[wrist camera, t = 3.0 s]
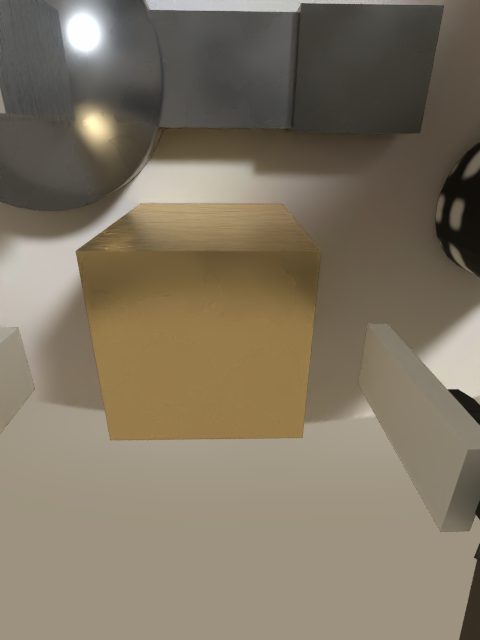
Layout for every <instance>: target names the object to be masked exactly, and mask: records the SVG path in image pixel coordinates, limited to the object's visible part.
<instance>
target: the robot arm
mask: <svg viewBox="0 0 480 640" xmlns="http://www.w3.org/2000/svg"><path fill="white" fill-rule="evenodd" d="M358 385H359V387H360V388H361V390H362V392H363V394H364V396H365V397H366V399H367V401H368V403H369V405H370V406H371V408H372V410H373V412H374V414H375V415H376V417H377V419H378V421H379V423H380V424H381V426H382V428H383V430H384V432H385V433H386V435H387V437H388V439H389V441H390V442H391V444H392V446H393V448H394V450H395V451H396V453H397V455H398V457H399V459H400V460H401V462H402V464H403V466H404V468H405V469H406V471H407V473H408V475H409V477H410V478H411V480H412V482H413V484H414V486H415V487H416V489H417V491H418V493H419V495H420V496H421V498H422V500H423V502H424V504H425V505H426V507H427V509H428V511H429V513H430V514H431V516H432V518H433V520H434V522H435V523H436V525H437V527H438V528H439V531H440V532H459V531H470V529H471V526H472V523H473V521H474V518H475V515H477V516H478V518H479V519H480V405H479V404H478V403H477V402H476V401H475V400H474V399H473V398H471V397H470V396H468V395H466V394H465V393H463V392H462V391H460V390H458V389H448V390H447V389H446V388H445V386H444V385H443V384H442V383H441V382H440V381H439V380H438V379H437V378H436V377H435V375H434V374H433V373H432V372H431V371H430V370H429V369H428V368H427V367H426V365H425V364H424V363H423V362H422V361H421V360H420V359H419V358H418V357H417V356H416V354H415V353H414V352H413V351H412V350H411V349H410V348H409V347H408V346H407V345H406V343H405V342H404V341H403V340H402V339H401V338H400V337H399V336H398V335H397V333H396V332H395V331H394V330H393V329H392V328H391V327H390V326H389V325H388V324H387V323H380V324H368V325H367V331H366V337H365V343H364V350H363V356H362V362H361V368H360V374H359V381H358ZM34 390H35V388H34V384H33V380H32V377H31V373H30V369H29V365H28V361H27V358H26V354H25V350H24V346H23V343H22V339H21V335H20V331H19V327H8V328H0V434H1V432H2V431H3V430H4V428H5V427H6V426H7V425H8V423H9V422H10V420H11V419H12V418H13V417H14V415H15V414H16V413H17V412H18V410H19V409H20V407H21V406H22V405H23V404H24V403H25V401H26V400H27V399H28V397H29V396H30V395H31V393H32V392H33V391H34ZM474 558H476V559H477V563H476V567H475V571H474V576H473V581H472V585H471V590H470V594H469V599H468V603H467V607H466V612H465V616H464V621H463V626H462V630H461V634H460V639H459V640H480V544H479V546H478V549H477V552H476V554H475V556H474Z"/></svg>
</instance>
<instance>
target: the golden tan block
mask: <svg viewBox="0 0 480 640" xmlns="http://www.w3.org/2000/svg"><path fill="white" fill-rule="evenodd" d="M76 255H77V261H78V266H79V271H80V277H81V282H82V288H83V293H84V299H85V304H86V310H87V315H88V321H89V326H90V332H91V337H92V343H93V348H94V354H95V359H96V364H97V370H98V375H99V381H100V386H101V392H102V397H103V403H104V408H105V414H106V419H107V425H108V430H109V436H110V440H167V439H168V440H169V439H245V438H248V439H249V438H302V437H303V427H304V417H305V407H306V397H307V387H308V377H309V367H310V357H311V347H312V336H313V326H314V316H315V306H316V296H317V286H318V276H319V266H320V256H321V250H320V249H319V248H318V247H317V245H316V244H315V243H314V242H313V240H312V239H311V238H310V237H309V236H308V234H307V233H306V232H305V231H304V229H303V228H302V227H301V226H300V224H299V223H298V222H297V221H296V219H295V218H294V217H293V216H292V215H291V213H290V212H289V211H288V210H287V208H286V207H285V206H284V205H283V204H139V205H138V206H137V207H135V208H134V209H133V210H131V211H130V212H128V213H127V214H126V215H124V216H123V217H122V218H120V219H119V220H118V221H116V222H115V223H113V224H112V225H111V226H109V227H108V228H107V229H105V230H104V231H103V232H101V233H100V234H98V235H97V236H96V237H94V238H93V239H92V240H90V241H89V242H88V243H86V244H85V245H83V246H82V247H81V248H79V249H78V250H77V251H76Z"/></svg>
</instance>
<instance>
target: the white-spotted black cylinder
mask: <svg viewBox="0 0 480 640" xmlns="http://www.w3.org/2000/svg"><path fill="white" fill-rule="evenodd" d="M435 223H436V231H437V237H438V239H439V242H440V245H441V247H442V249H443V250H444V252H445V253H446V255H447V256H448V257H449V258H450V259H451V260H452V261H453V262H454V263H455V264H457V265H458V266H460V267H462V268H464V269H465V270H467V271H469V272H471V273H473V274H474V275H476V276H478V277H480V142H479V143H478V144H477V145H476V146H474V147H473V148H472V149H471V150H469V151H468V152H467V153H466V155H465V156H464V157H463V158H462V159H461V160H460V161H459V162H458V163H457V164H456V166H455V168H454V169H453V171H452V172H451V174H450V175H449V177H448V178H447V180H446V182H445V184H444V187H443V189H442V191H441V193H440V197H439V201H438V205H437V208H436V222H435Z"/></svg>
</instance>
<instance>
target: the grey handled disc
mask: <svg viewBox="0 0 480 640" xmlns="http://www.w3.org/2000/svg"><path fill="white" fill-rule="evenodd" d="M443 8H444V6H438V5H372V4H307V3H301V5H300V7H299V8H298V10H297V12H243V11H175V10H150V9H149V6H148V4H147V2H146V0H0V202H4V203H7V204H10V205H13V206H16V207H21V208H26V209H31V210H41V211H58V210H68V209H73V208H77V207H81V206H84V205H87V204H90V203H92V202H95V201H97V200H99V199H101V198H103V197H106V196H108V195H110V194H112V193H113V192H115V191H117V190H119V189H121V188H122V187H123V186H125V185H126V184H127V183H129V182H130V181H131V180H132V179H133V178H134V177H135V176H136V175H137V174H138V173H139V172H140V171H141V170H142V169H143V168H144V166H145V165H146V163H147V162H148V161H149V159H150V158H151V156H152V154H153V152H154V150H155V149H156V147H157V145H158V142H159V139H160V137H161V134H162V131H163V128H245V129H287V133H351V134H413V133H420V130H421V125H422V120H423V114H424V109H425V104H426V99H427V93H428V88H429V83H430V77H431V72H432V67H433V61H434V56H435V51H436V45H437V40H438V35H439V29H440V24H441V19H442V13H443Z"/></svg>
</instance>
